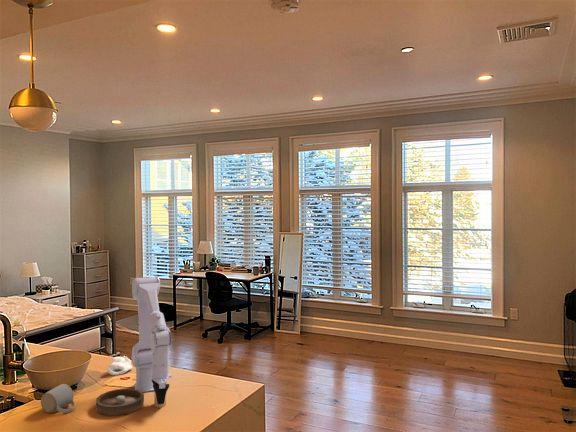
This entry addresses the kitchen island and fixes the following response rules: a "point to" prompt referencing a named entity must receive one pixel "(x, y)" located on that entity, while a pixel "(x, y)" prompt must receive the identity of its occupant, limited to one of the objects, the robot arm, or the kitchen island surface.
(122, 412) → the groove tray
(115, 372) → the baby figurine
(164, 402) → the bead
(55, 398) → the ceramic mug
